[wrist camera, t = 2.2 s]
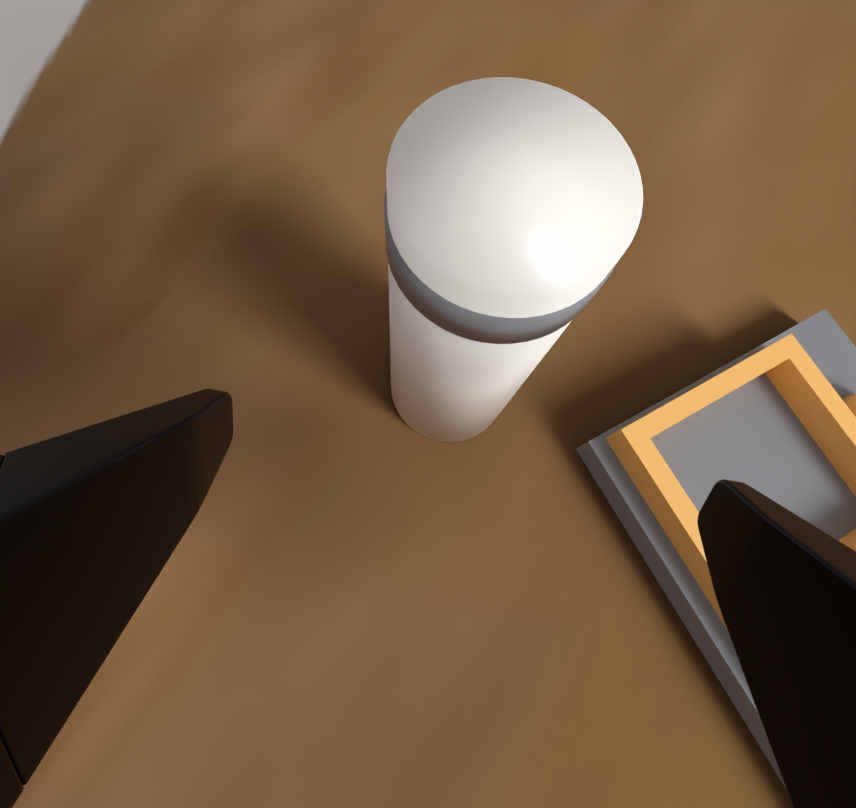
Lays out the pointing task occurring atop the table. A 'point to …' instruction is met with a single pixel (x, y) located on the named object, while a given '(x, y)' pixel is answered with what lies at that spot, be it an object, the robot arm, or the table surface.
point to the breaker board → (736, 470)
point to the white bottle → (496, 242)
